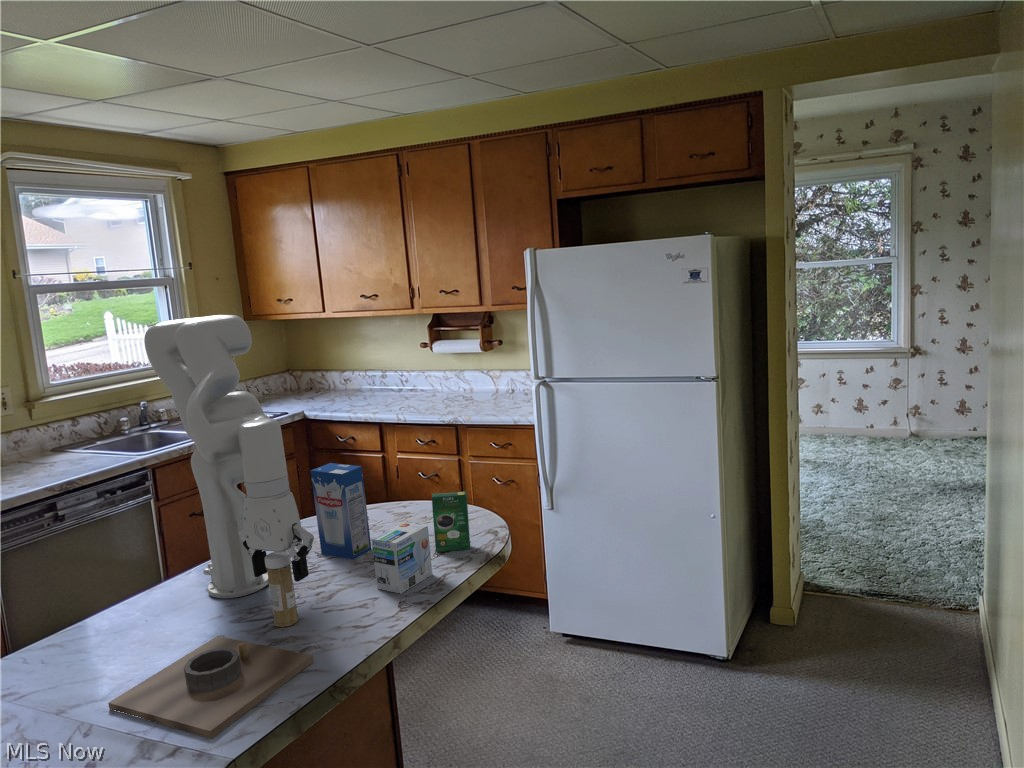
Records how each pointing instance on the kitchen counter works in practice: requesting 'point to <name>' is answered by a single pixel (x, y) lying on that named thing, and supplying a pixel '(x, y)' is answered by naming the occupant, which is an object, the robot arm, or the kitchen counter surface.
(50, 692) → the kitchen counter surface
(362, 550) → the milk carton
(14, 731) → the kitchen counter surface
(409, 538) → the light bulb box
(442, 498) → the coffee box
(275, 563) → the sprinkles bottle
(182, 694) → the collar board
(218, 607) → the kitchen counter surface
